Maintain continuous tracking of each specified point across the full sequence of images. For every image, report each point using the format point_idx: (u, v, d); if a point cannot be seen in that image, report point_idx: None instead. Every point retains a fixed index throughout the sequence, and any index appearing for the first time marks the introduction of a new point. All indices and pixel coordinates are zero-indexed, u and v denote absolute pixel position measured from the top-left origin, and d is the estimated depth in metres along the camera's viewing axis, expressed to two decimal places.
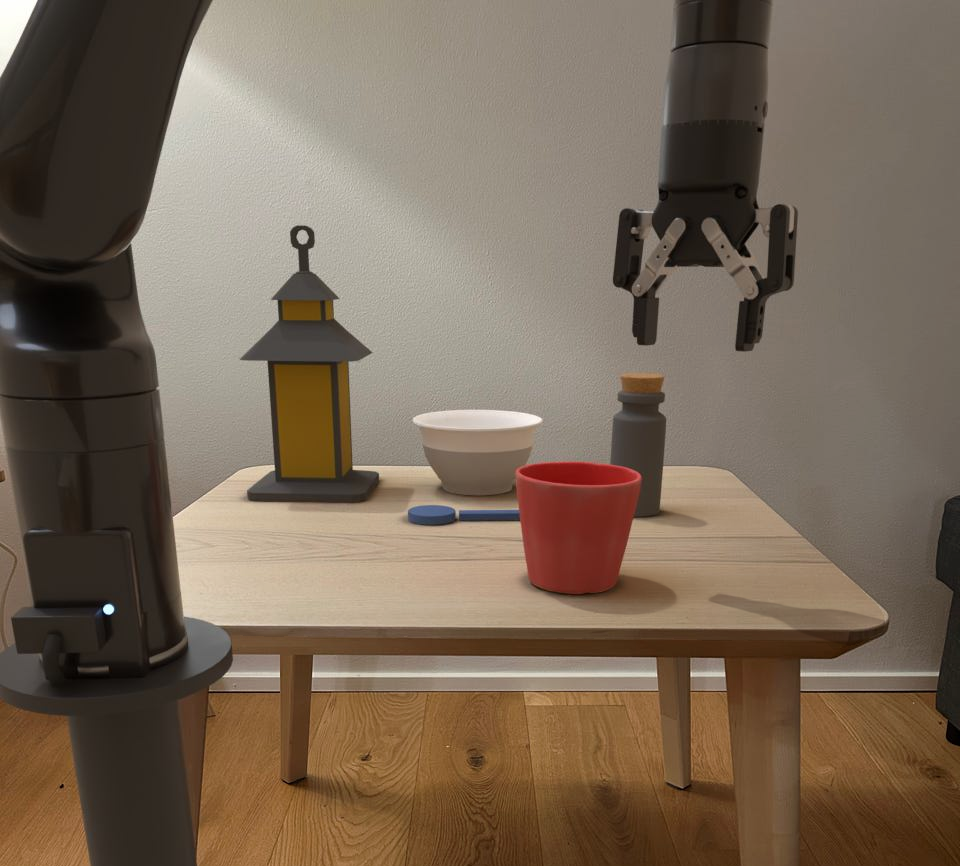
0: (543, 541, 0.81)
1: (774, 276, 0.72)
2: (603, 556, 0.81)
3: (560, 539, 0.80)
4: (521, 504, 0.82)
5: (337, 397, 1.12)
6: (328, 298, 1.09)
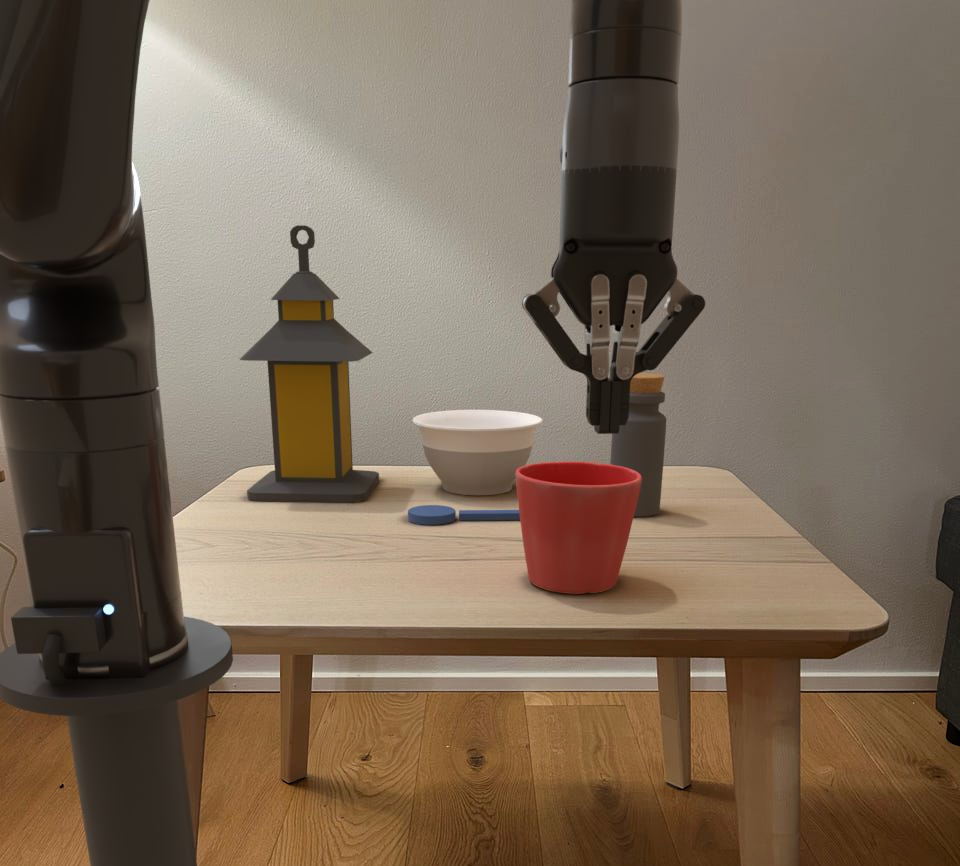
0: (543, 541, 0.81)
1: (653, 355, 0.67)
2: (603, 556, 0.81)
3: (560, 539, 0.80)
4: (521, 504, 0.82)
5: (337, 397, 1.12)
6: (328, 298, 1.09)
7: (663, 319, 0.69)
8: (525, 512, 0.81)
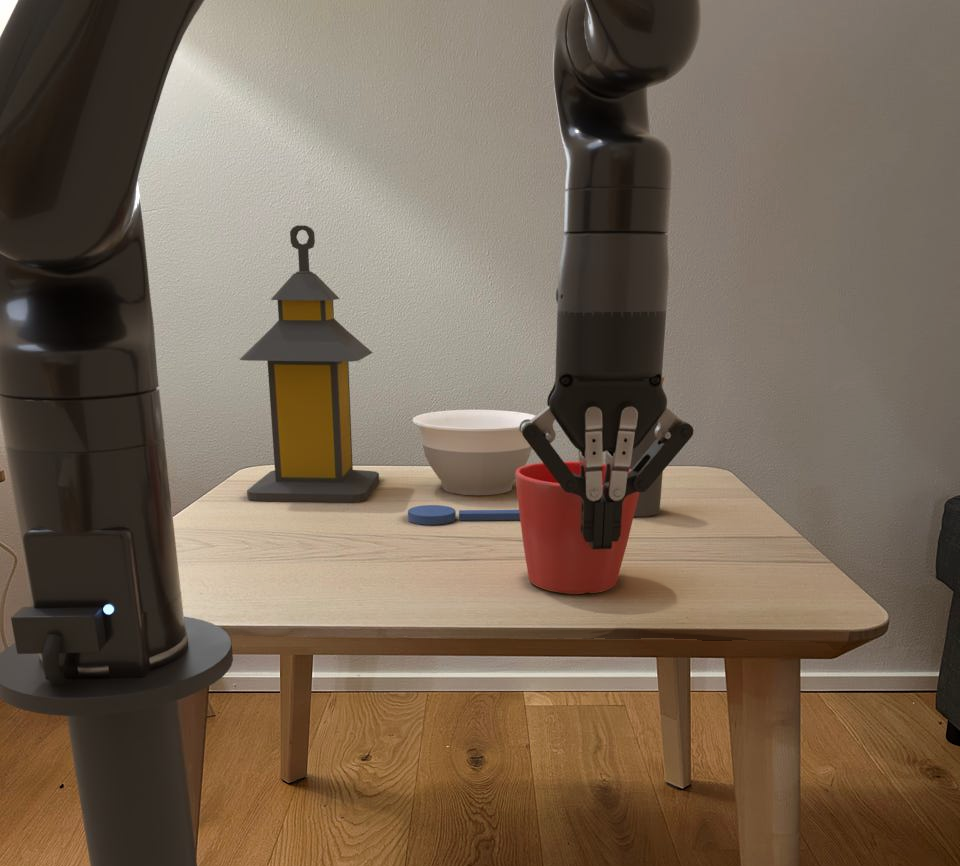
0: (543, 541, 0.81)
1: (644, 479, 0.71)
2: (603, 556, 0.81)
3: (560, 539, 0.80)
4: (521, 504, 0.82)
5: (337, 397, 1.12)
6: (328, 298, 1.09)
7: (654, 442, 0.72)
8: (525, 512, 0.81)
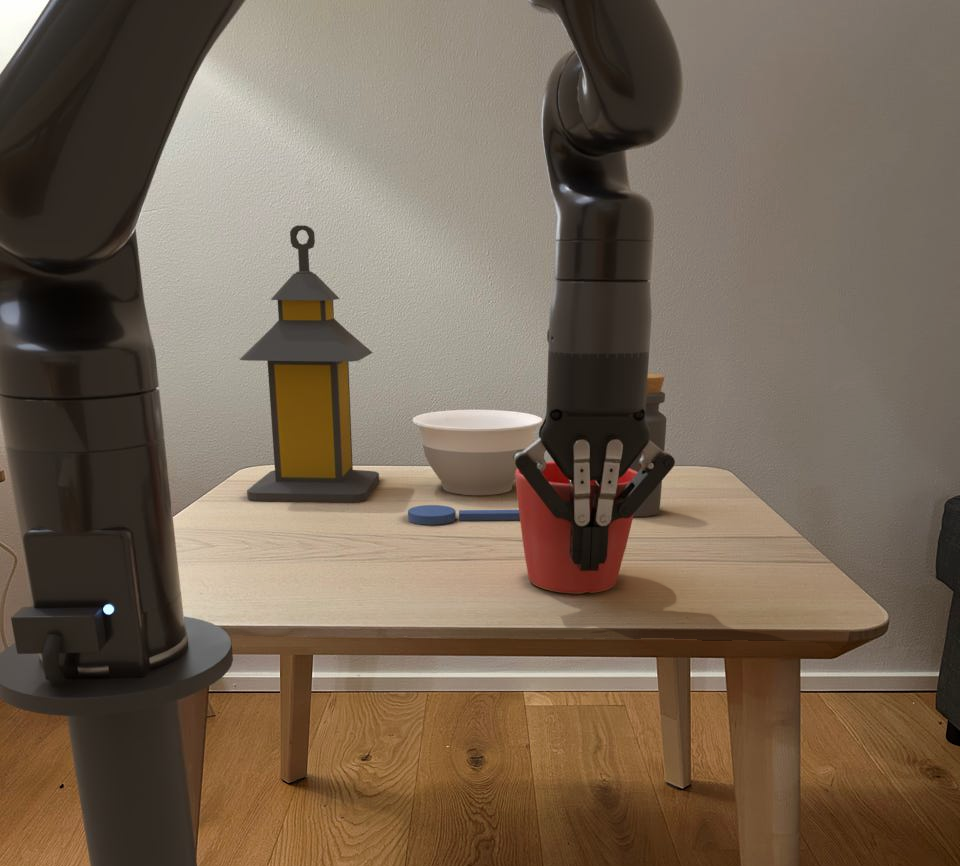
0: (543, 541, 0.81)
1: (629, 506, 0.76)
2: None
3: (559, 539, 0.80)
4: (521, 504, 0.82)
5: (337, 397, 1.12)
6: (328, 298, 1.09)
7: (638, 471, 0.77)
8: (525, 512, 0.81)
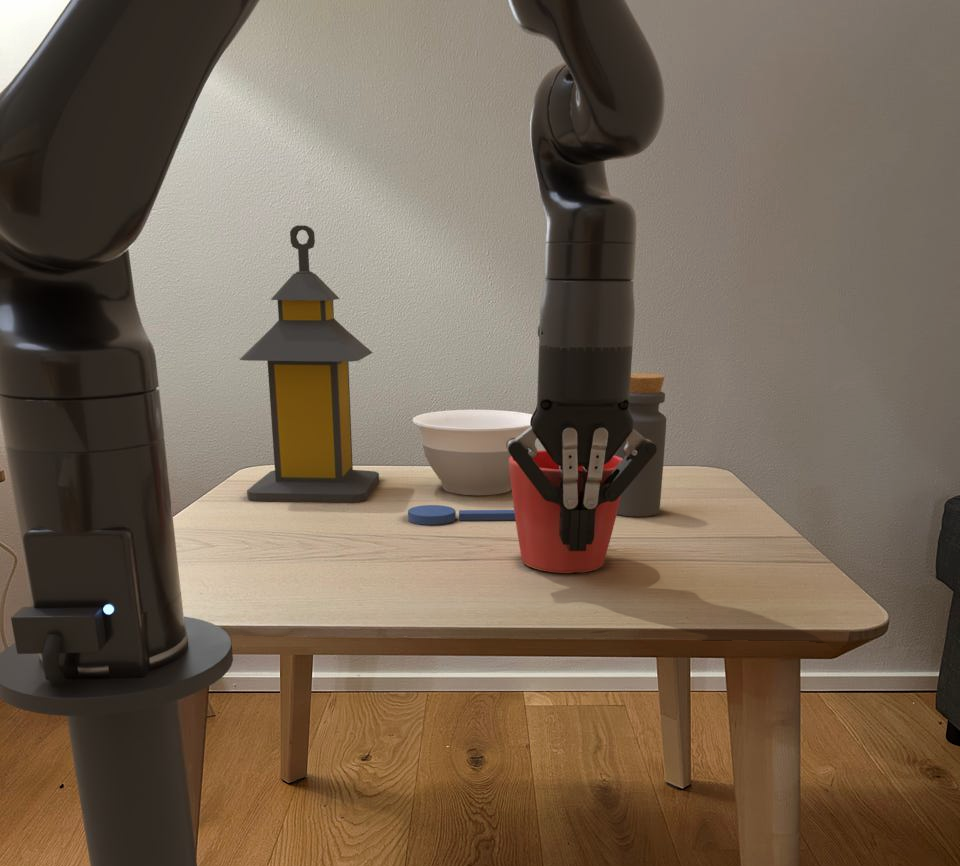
0: (534, 523, 0.86)
1: (614, 490, 0.81)
2: None
3: (550, 521, 0.85)
4: (514, 489, 0.87)
5: (337, 397, 1.12)
6: (328, 298, 1.09)
7: (623, 458, 0.83)
8: (518, 496, 0.87)
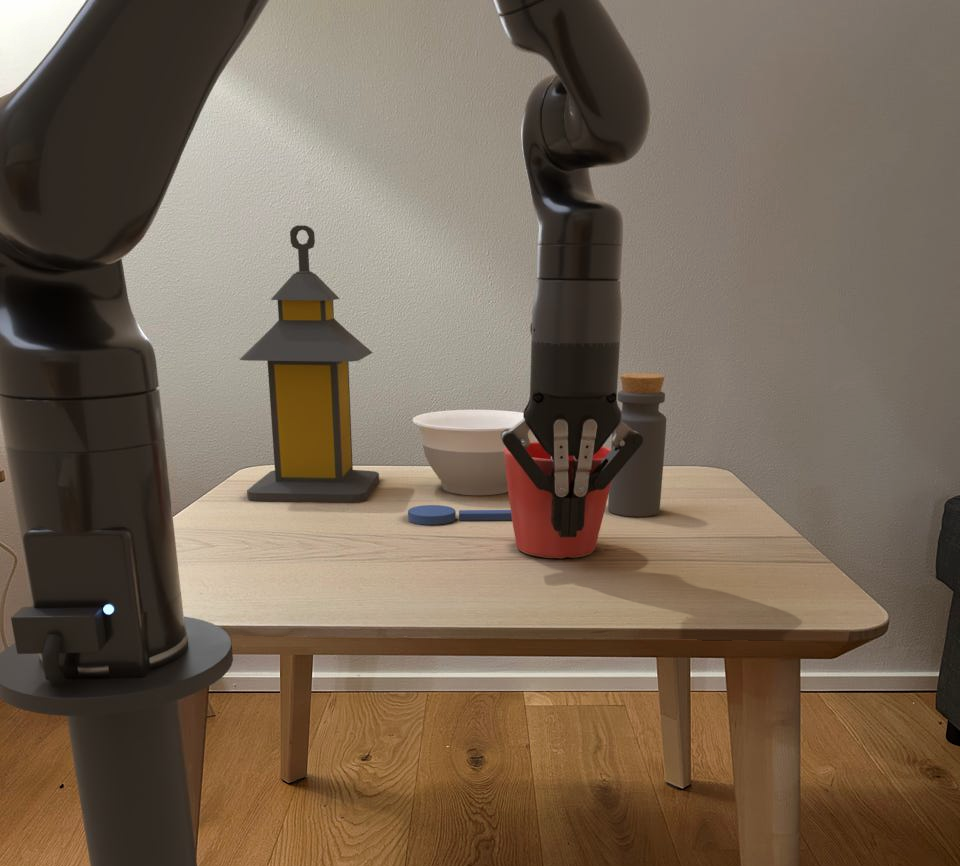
0: (528, 510, 0.91)
1: (603, 479, 0.86)
2: None
3: (542, 509, 0.90)
4: (509, 478, 0.92)
5: (337, 397, 1.12)
6: (328, 298, 1.09)
7: (612, 448, 0.87)
8: (512, 485, 0.91)
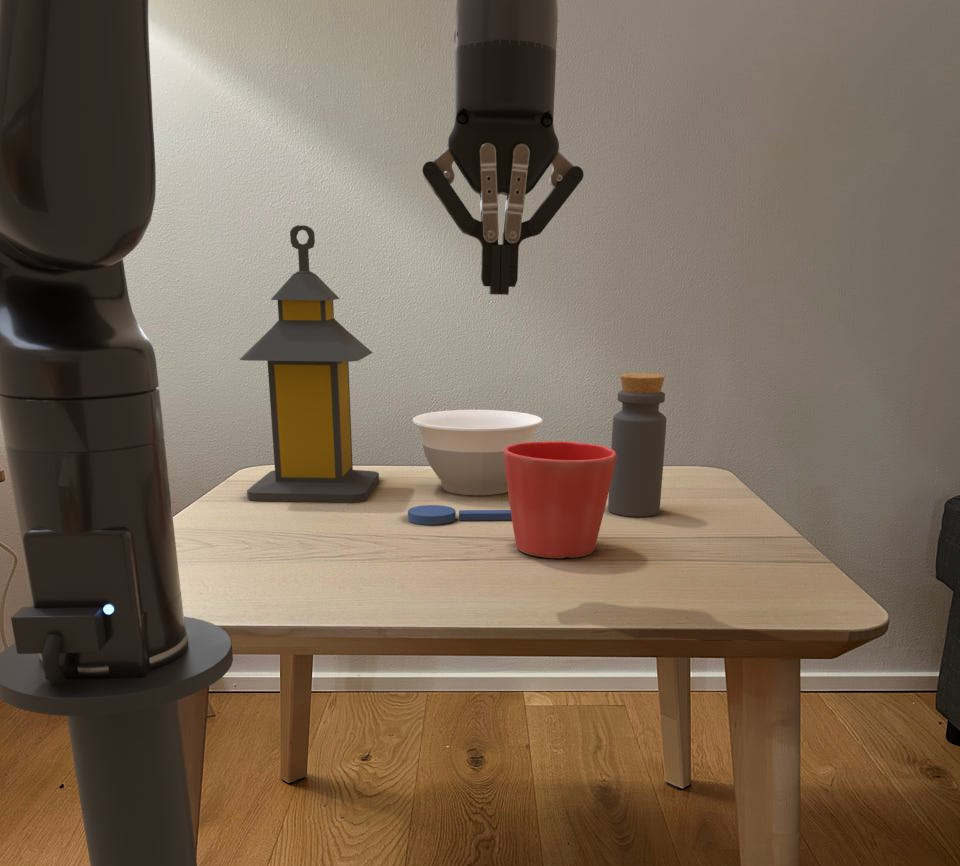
0: (527, 510, 0.91)
1: (538, 221, 0.75)
2: (581, 524, 0.90)
3: (542, 509, 0.90)
4: (508, 478, 0.92)
5: (337, 397, 1.12)
6: (328, 298, 1.09)
7: (550, 192, 0.77)
8: (512, 485, 0.91)
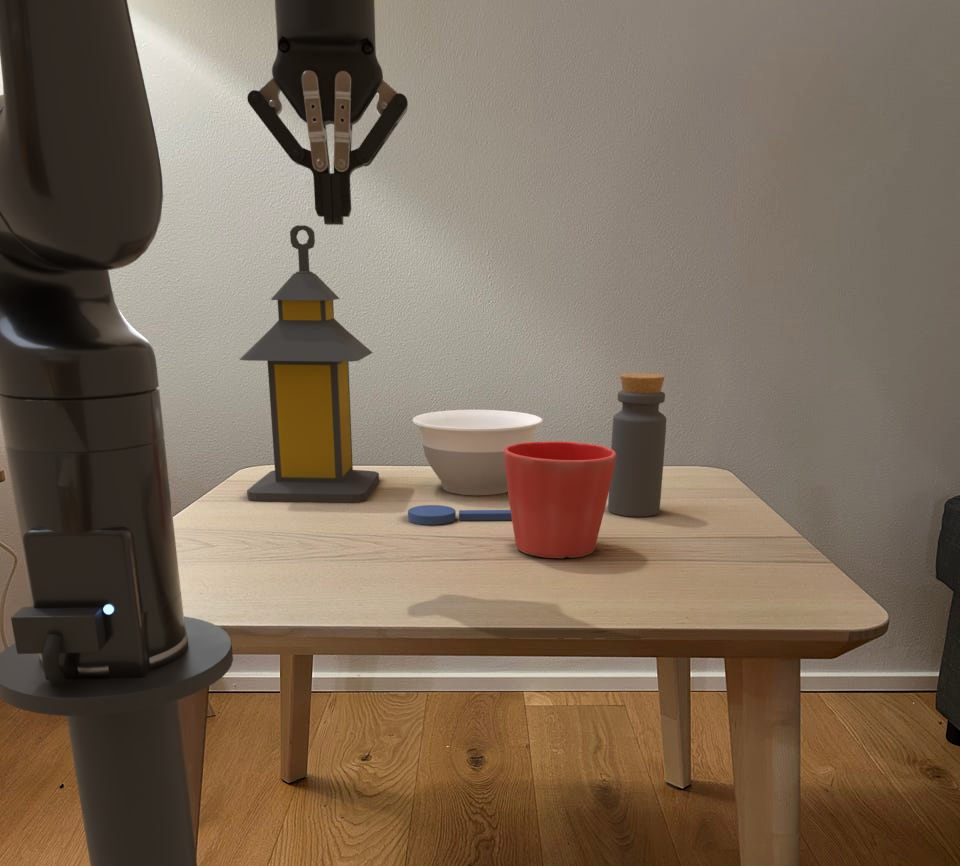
0: (527, 510, 0.91)
1: (366, 149, 0.77)
2: (581, 524, 0.90)
3: (542, 509, 0.90)
4: (508, 478, 0.92)
5: (337, 397, 1.12)
6: (328, 298, 1.09)
7: None
8: (512, 485, 0.91)
